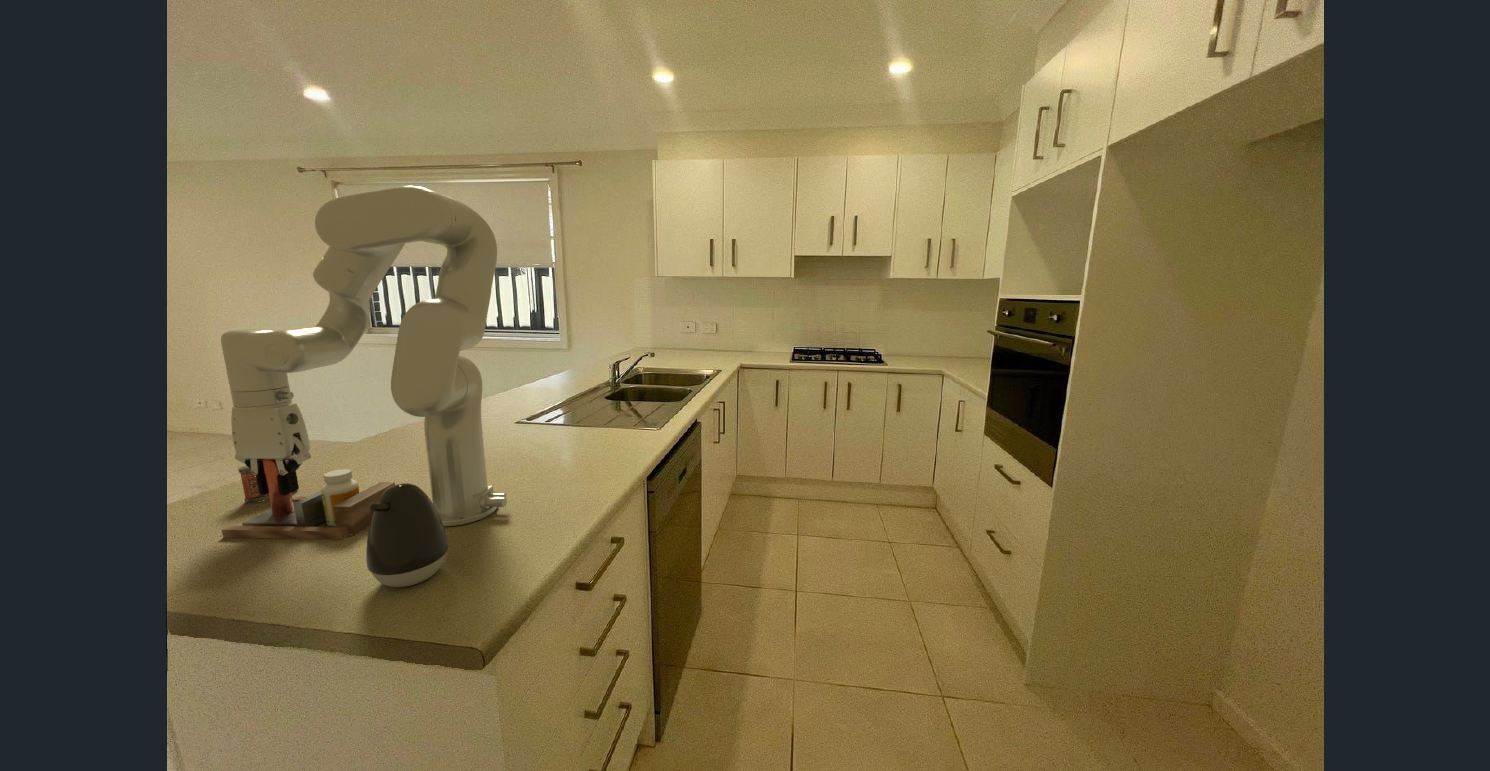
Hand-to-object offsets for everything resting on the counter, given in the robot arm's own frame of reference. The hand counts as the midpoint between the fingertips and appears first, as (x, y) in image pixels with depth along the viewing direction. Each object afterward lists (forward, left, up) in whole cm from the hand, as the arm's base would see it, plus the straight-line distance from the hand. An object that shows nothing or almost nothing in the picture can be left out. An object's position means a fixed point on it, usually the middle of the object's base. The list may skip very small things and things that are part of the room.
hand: (279, 491), depth 90 cm
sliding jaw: (-3, 0, -5) cm, 6 cm away
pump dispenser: (-37, +18, -6) cm, 41 cm away
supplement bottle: (-12, 0, -6) cm, 13 cm away
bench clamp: (-8, 0, -6) cm, 10 cm away
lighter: (+12, -10, -6) cm, 17 cm away
